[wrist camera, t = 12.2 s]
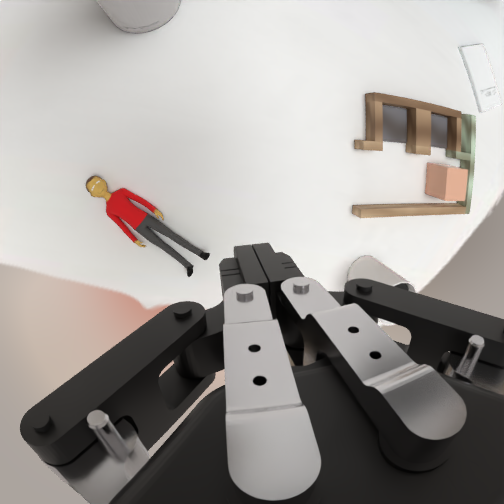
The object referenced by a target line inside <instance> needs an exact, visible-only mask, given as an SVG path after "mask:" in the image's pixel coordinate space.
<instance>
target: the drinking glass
mask: <svg viewBox="0 0 504 504" xmlns="http://www.w3.org/2000/svg"><path fill="white" fill-rule="evenodd" d="M347 276H348V281H350V280H352V279H358V278H364V279H370V280H374V281H377V282H381V283H384V284H387V285H391V286H394V287H398V288H401V289H404V290H408V291H411V292H414V293H417V291H416V288H415V286H414V285H413V284H411V283H410V282H408V281H407V280H406V279H404V278H403V277H401V276H400V275H398V274H397V273H396V272H394V271H393V270H391V269H390V268H388V267H387V266H385V265H384V264H382V263H381V262H379V261H378V260H376V259H375V258H373V257H372V256H363V257H360V258H358V259H357V260H356V261H354V262H353V264H352V265H351V267H350V268H349V271H348V275H347ZM378 321H379V322H380V323H382V324H384V325H395V324H394V323H392V322H389V321H386V320H383V319H380V318H378Z"/></svg>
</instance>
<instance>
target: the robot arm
mask: <svg viewBox="0 0 504 504" xmlns="http://www.w3.org/2000/svg"><path fill="white" fill-rule="evenodd" d="M96 1H97V3H98V4H99V5H100V6H101V8H102V9H103V10H104V11H105V13H106V14H107V15H108V16H109V18H110V19H111V20H112V21H113V23H114V24H115V25H116V26H117V27H118V28H120V29H121V30H123V31H126V32H131V33H144V32H148V31H152V30H154V29H157V28H159V27H161V26H162V25H164V24H166V23H167V22H168V21H169V20H170V19H171V18H172V17H173V16H174V15H175V14H176V12H177V10H178V8H179V6H180V2H181V0H96ZM219 267H220V277H221V286H222V295H223V301H222V302H221V303H220V304H219V305H217V306H215V307H213V308H210V309H207V310H205V309H204V307H203V306H202V305H201V304H199V303H196V302H190V301H185V302H178V303H175V304H172V305H170V306H168V307H167V308H165V309H164V310H163V311H162V312H160V313H159V314H157V315H156V316H155V317H153V318H152V319H150V320H149V321H148V322H146V323H145V324H144V325H142V326H141V327H140V328H138V329H137V330H136V331H134V332H133V333H131V334H130V335H129V336H127V337H126V338H125V339H123V340H122V341H121V342H119V343H118V344H117V345H115V346H114V347H113V348H111V349H110V350H109V351H107V352H106V353H104V354H103V355H102V356H100V357H99V358H98V359H96V360H95V361H94V362H92V363H91V364H90V365H88V366H87V367H86V368H84V369H83V370H82V371H80V372H79V373H78V374H76V375H75V376H74V377H72V378H71V379H70V380H68V381H67V382H65V383H64V384H63V385H61V386H60V387H59V388H57V389H56V390H55V391H54V392H52V393H51V394H49V395H48V396H47V397H45V398H44V399H43V400H41V401H40V402H39V403H37V404H36V405H35V406H33V407H32V408H31V409H30V410H28V411H27V413H26V414H25V415H24V416H23V418H22V420H21V424H20V432H21V435H22V437H23V439H24V440H25V441H26V442H27V443H28V444H29V446H30V447H31V448H32V449H33V450H34V451H35V452H36V453H37V454H38V456H39V457H40V459H41V460H42V461H43V462H44V463H45V464H46V465H47V466H48V467H49V468H50V469H51V470H52V471H53V472H54V473H55V474H56V475H57V476H58V477H59V478H60V479H61V480H62V481H64V482H66V483H67V484H68V485H69V486H71V487H72V488H73V489H74V490H75V491H76V492H78V493H79V494H81V496H82V497H83V498H84V499H85V500H86V501H88V502H89V503H90V504H504V319H501V318H497V317H494V316H491V315H487V314H484V313H481V312H477V311H474V310H471V309H468V308H464V307H461V306H458V305H454V304H451V303H448V302H444V301H441V300H438V299H434V298H431V297H428V296H424V295H421V294H418V293H414V292H411V291H408V290H404V289H401V288H398V287H394V286H391V285H387V284H384V283H381V282H377V281H374V280H370V279H364V278H358V279H352V280H350V281H348V282H347V283H346V284H345V288H344V292H331V291H327V290H326V289H325V288H324V287H323V286H322V285H321V284H320V283H319V282H318V281H316V280H314V279H312V278H307V277H304V275H303V274H302V273H301V271H300V270H299V268H298V267H297V266H296V264H295V263H294V261H293V260H292V259H291V257H290V256H288V255H286V254H285V253H283V252H278V253H275V252H274V250H273V249H272V247H271V246H270V244H269V243H261V244H252V246H251V245H243V246H234V258H226V259H223V260H222V261H221V263H220V264H219ZM378 318H380V319H383V320H386V321H389V322H392V323H394V324H398V325H401V326H403V327H406V328H407V329H408V330H409V331H410V333H411V341H410V344H409V345H405V344H402V343H399V342H396V341H394V340H392V339H391V338H390V337H389V336H388V335H387V334H386V333H385V332H384V331H383V330H382V329H381V328H380V326H379V325H378V324H377V323H378ZM448 351H450V352H448ZM172 360H173V361H174V364H173V365H172V366H171V367H170V368H169V369H168V370H167V371H166V372H164V373H163V374H162V375H161V376H160V377H159V375H160V373H161V371H162V370H163V369H164V368H165V367H166V366H167V365H168V364H169V363H170V362H172ZM223 369H225V385H223V386H221V387H219V388H217V389H216V390H214V391H212V392H211V393H210V394H208V395H207V396H205V397H204V398H203V399H202V400H201V401H200V402H199V403H198V404H197V405H196V407H195V408H194V409H193V410H192V411H191V413H190V414H189V415H188V416H187V417H186V418H185V420H184V421H183V422H182V423H181V424H180V425H179V426H178V428H177V429H176V430H175V431H174V432H173V433H172V435H171V436H170V437H169V438H168V439H167V440H166V441H165V443H164V444H163V445H162V446H161V447H160V448H159V449H158V450H157V451H156V453H155V454H154V455H153V456H152V457H151V458H150V459H149V454H148V450H149V449H150V448H151V447H152V446H153V445H154V444H155V443H156V442H157V441H158V440H159V439H160V438H161V437H162V436H163V435H164V433H166V432H167V431H168V430H169V428H170V427H171V426H172V425H173V424H174V423H175V422H176V421H177V420H178V419H179V418H180V417H181V416H182V415H183V414H184V413H185V412H186V410H187V409H188V408H189V407H190V406H191V405H192V404H193V403H194V402H195V401H196V400H197V399H198V398H199V396H200V395H201V394H202V393H203V392H204V391H205V390H206V389H207V388H208V387H209V385H210V384H211V383H212V382H213V381H214V379H215V372H218V371H220V370H223Z"/></svg>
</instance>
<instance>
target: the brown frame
mask: <svg viewBox="0 0 504 504" xmlns="http://www.w3.org/2000/svg"><path fill="white" fill-rule="evenodd" d="M365 101H366V141H364V140H355V149H362V150H376V151H382V150H383V141H389V142H399V143H406V152H408V153H414V154H423V155H431V146H432V147H439V148H446V157H451V158H455V159H461V161H460V168H463V169H467V170H468V176H467V187H466V196H465V201H457V203H428V204H374V205H353V210H352V214H354V215H356V216H358V217H359V218H373V217H394V216H417V215H445V214H469V212H470V205H471V197H472V188H473V177H474V163H475V139H476V116H474V115H468V114H461V111H457V110H454V109H450V108H446V107H443V106H439V105H435V104H431V103H426V102H422V101H417V100H413V99H408V98H403V97H398V96H393V95H387V94H381V93H375V92H374V93H368V94H365ZM384 105H388V106H384ZM390 106H395V107H390ZM396 107H400V108H396ZM402 108H406V109H402ZM433 114H436V115H433ZM437 115H440V116H437ZM441 116H444V117H441ZM446 117H447V118H446ZM461 119H462V131H461Z"/></svg>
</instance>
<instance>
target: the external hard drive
mask: <svg viewBox="0 0 504 504" xmlns="http://www.w3.org/2000/svg"><path fill="white" fill-rule="evenodd" d="M458 49H459V52H460V54H461V57H462V59H463V62H464V65H465V68H466V70H467V73H468V76H469V79H470V83H471V86H472V89H473V92H474V96H475V99H476V103H477V106H478V110H479V112H481V113H482V112H485V111H488V110H490V109H492V108H495V107H497V106H499V105H502V102H501V98H500V94H499V91H498V87H497V83H496V80H495V77H494V73H493V70H492V67H491V64H490V61H489V58H488V55H487V53H486V50H485V47H484V44H478V45H471V46H464V47H458Z"/></svg>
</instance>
